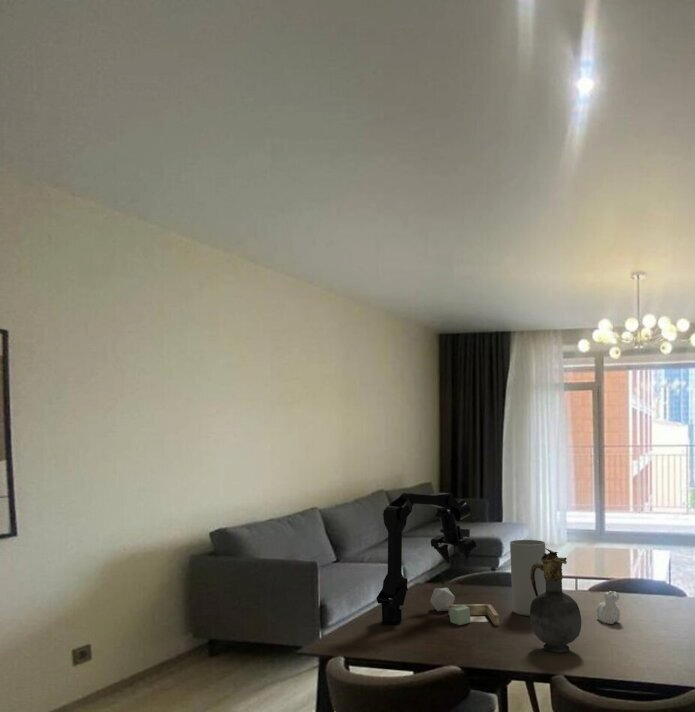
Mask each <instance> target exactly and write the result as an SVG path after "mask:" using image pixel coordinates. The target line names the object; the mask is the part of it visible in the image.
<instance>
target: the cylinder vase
mask: <svg viewBox="0 0 695 712" xmlns="http://www.w3.org/2000/svg"><path fill="white" fill-rule="evenodd" d="M545 548H546V542H545V541H543V540H537V539H514V540H511V541H510V542H509V549H510V551H509V553H510V575H511V576H510V577H511V578H510V579H511V580H510V581H511V603H512V604H511V605H512V612H513V613H515V614H516V615H520V616H524V617H525V616H526V617H530V607H531V603H532V601H533V600H534V599H535V598H536V595H535V592H534V589H533V585H532V583H531V579H530V577H531V574H530V571H531V568H532V566H533V565H534V564H535V563H541V564H543V561H541V558H542V556H544V554H542V553H546V549H545ZM535 581H536V589H537V592H538V595H540V594H542V593H544V592H546V582H545V579H544V571H542V570H541V569H539V568H537V569H536V570H535Z"/></svg>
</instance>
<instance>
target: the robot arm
mask: <svg viewBox="0 0 695 712" xmlns="http://www.w3.org/2000/svg"><path fill="white" fill-rule="evenodd" d="M415 504H416V505H428V506H432V507H433V508H438V510H437V512H436V513H435V514H434V518H439V521H440V524H441V525H440V526H441V529H439V530H440V531H439V532H440V533H442V534H439V535H436V536H434V537H433V538H431V539H430V546H431V547H433V549H434V550H435V551H437V553H438V554H439V555H440V556H441V557H442V559H443V560H444V561H445V562H446V564H450V563H451V561H450V554H449V549H448V548H449V546H453V547H457V548H458V550H459V551H458V554H459V557H460V558H461V561H462V563H463V566H464V567H468V565H469V558H470V553H471V551H472V550H474V549H475V548H476V547H477V542H476V540H474V539H471V538H470V535H471V534H470V533H471V532H470V531H471V529H470V528H463V527H461V526H460V525H458V524H457V522H459V521H461V520H463V519H465V518H467V517H469V516H470V515H471V513H472V510H471V507H470V505H469V504H468V503H467V502H466V501H465V499H459V500H457V499H455V498H454V494H452V493H448V492H434V493H431V494H425V493H424V494H421V493H413V492H406V491H405V492H403V493H401V495H400V496H398V497H397V498H396V499H394V500H393V501H391V502H390V503H389V505H387V507H385V509H384V510H383V513H382V517H383V523H384V527H385V528H386V531H387V572H386V575H385V577H384V579H383V582H382V588H381V590H380V592H379V593H378V595H376V602H377V604H380V605H381V619H380V620H381V621H380V622H381V625H401V622H403V621H402V620H403V618H402V614H403V613H402V607H401V606H404V603H405V600H406V599H405V598H406V596H407V593H408V592H407V591H409V588H408V578H407V577H404V575H403V574H402V573H403V571H402V570H403V569H402V567H403V566H402V565H403V564H402V563H403V560H402V559H403V553H402V552H403V548H402V547H403V544H402V543H403V531H404V529H405V528H406V526H407V522H408V521H407V520H408V517H409V515H410V514H412V510H413V506H414V505H415ZM441 509H442V510H441Z"/></svg>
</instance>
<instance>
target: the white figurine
mask: <svg viewBox="0 0 695 712" xmlns="http://www.w3.org/2000/svg"><path fill="white" fill-rule="evenodd" d="M603 598H604V602H599V603H598V605H597V606H596V610H595V613H596V617H597V619H598V621H599V622H602V623H604V624H605V623H607V624H609V625H613V624H615V623H617V622H619V621H620V617H621V611H620V608H619V607H618V606H617V604H616V603H617V602H618V601H619V599H620V594H619V593H618V592H616V590H615V591H612V590H609V591H605V594H603ZM607 624H606V625H607Z"/></svg>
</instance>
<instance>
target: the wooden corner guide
mask: <svg viewBox="0 0 695 712" xmlns="http://www.w3.org/2000/svg"><path fill="white" fill-rule="evenodd" d="M458 605H459V604H453V605H448V610H447V611H448V616H449V617H450V612H449V608H450V607H454V606H458ZM462 605H463V606H466V607H469V608H470V620H471V622H470V623H488V622H489V620H490V621H491V622H492V624H493V626H495V627H496V626H498V627H499V626H500V615H499V613H498V612H497V611H496V610H495V608H494V607H493V605H492V604H487V603H485V604H483V603H482V604H481V603H479V604H478V603H477V604H474V603H473V604H462ZM486 616H488V618H489V620H488V619H487V618H486Z"/></svg>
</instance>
